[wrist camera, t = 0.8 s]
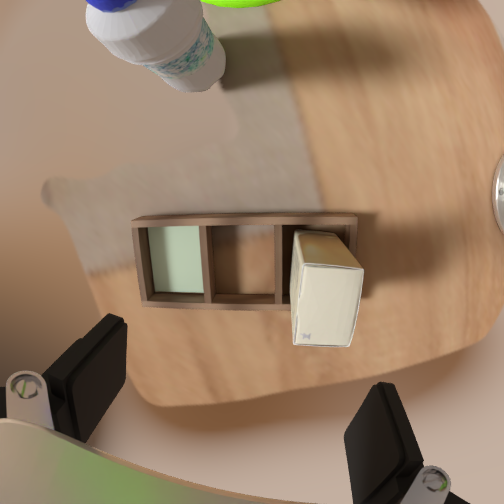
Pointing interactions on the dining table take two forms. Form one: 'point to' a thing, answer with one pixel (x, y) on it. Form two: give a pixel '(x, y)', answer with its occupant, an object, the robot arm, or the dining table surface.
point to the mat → (176, 258)
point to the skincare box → (323, 290)
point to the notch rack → (207, 262)
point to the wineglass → (239, 3)
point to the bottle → (161, 39)
